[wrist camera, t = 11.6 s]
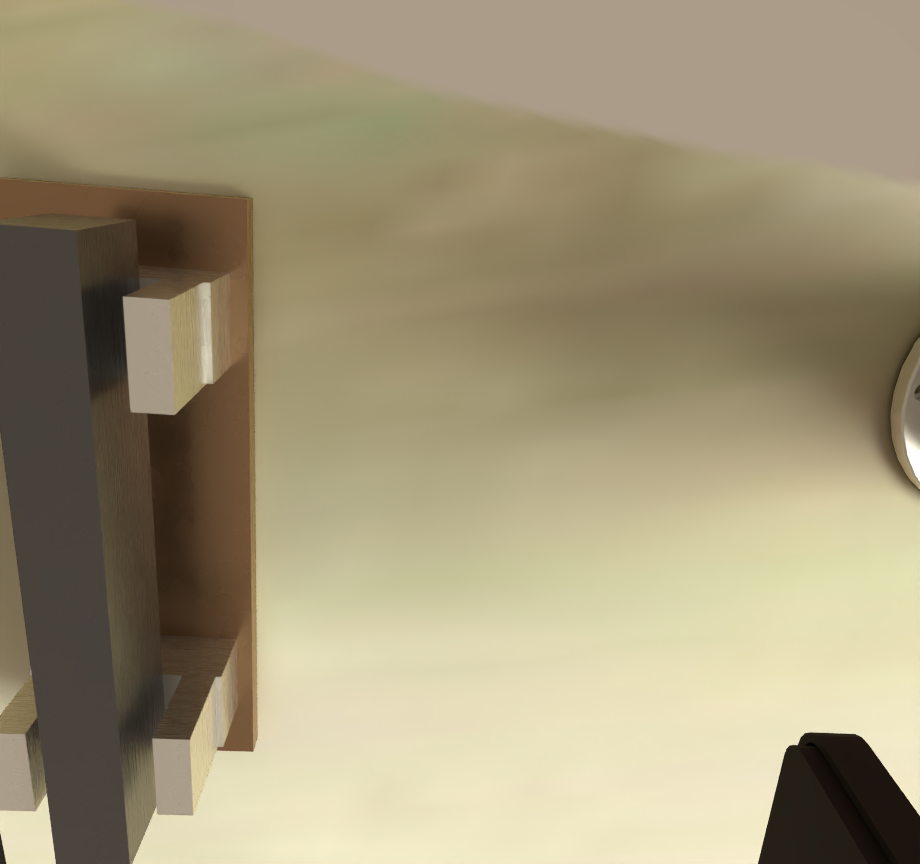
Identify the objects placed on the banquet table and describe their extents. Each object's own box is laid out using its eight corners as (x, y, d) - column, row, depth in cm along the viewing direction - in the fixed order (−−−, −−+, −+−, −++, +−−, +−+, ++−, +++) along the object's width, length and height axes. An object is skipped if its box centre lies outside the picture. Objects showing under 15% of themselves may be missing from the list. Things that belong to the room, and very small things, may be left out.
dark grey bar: (135, 220, 27) (75, 230, 23) (168, 776, 36) (130, 868, 31) (51, 213, 27) (-26, 222, 23) (104, 774, 36) (56, 866, 31)
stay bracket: (252, 198, 31) (197, 207, 24) (257, 737, 40) (218, 868, 33) (4, 177, 30) (-134, 180, 23) (66, 731, 40) (-18, 863, 32)
